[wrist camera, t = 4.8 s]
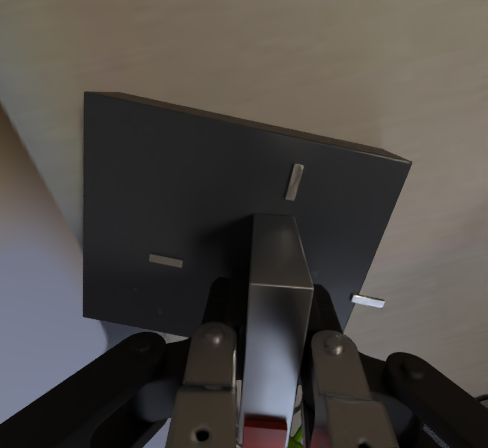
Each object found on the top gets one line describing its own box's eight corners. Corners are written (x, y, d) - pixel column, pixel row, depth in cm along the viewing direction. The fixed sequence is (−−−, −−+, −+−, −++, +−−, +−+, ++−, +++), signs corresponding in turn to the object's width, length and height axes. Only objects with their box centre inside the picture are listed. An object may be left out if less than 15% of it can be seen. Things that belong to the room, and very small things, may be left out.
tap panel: (118, 92, 14) (80, 90, 11) (407, 154, 14) (445, 169, 11) (109, 298, 18) (80, 337, 15) (332, 342, 18) (345, 389, 15)
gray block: (253, 213, 12) (249, 288, 8) (294, 216, 12) (316, 293, 7) (245, 334, 15) (236, 452, 10) (279, 337, 15) (288, 456, 10)
